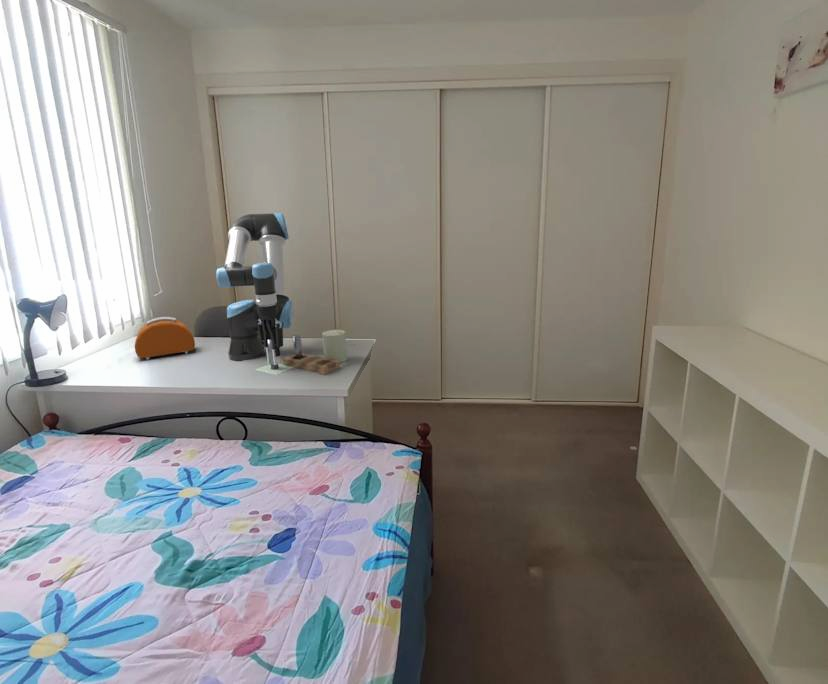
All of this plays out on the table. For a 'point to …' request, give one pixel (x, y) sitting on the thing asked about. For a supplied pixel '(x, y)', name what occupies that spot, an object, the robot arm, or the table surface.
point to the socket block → (312, 363)
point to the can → (334, 345)
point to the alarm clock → (163, 338)
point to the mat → (268, 370)
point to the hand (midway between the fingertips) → (274, 363)
